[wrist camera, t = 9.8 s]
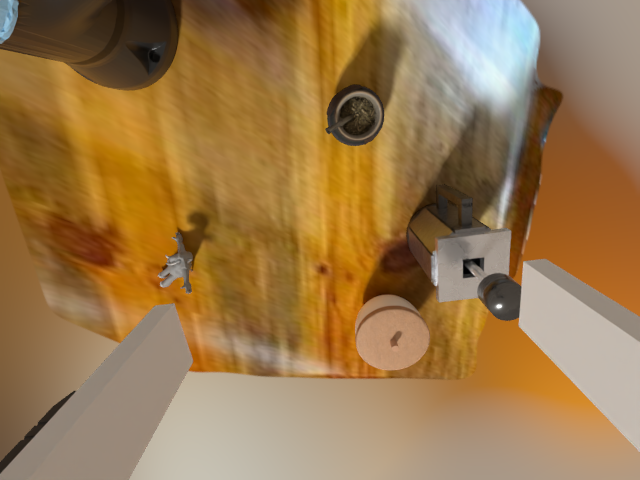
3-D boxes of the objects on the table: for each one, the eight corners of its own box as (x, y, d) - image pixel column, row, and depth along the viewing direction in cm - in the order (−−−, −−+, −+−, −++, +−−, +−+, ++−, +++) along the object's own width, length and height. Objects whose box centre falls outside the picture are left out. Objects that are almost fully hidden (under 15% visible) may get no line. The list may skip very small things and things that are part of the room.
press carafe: (403, 186, 47) (431, 208, 35) (468, 177, 47) (518, 197, 35) (407, 263, 52) (433, 307, 39) (467, 256, 51) (512, 298, 39)
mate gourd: (390, 124, 45) (407, 126, 35) (343, 156, 46) (347, 165, 37) (363, 75, 43) (373, 64, 33) (315, 110, 44) (311, 108, 35)
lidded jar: (357, 343, 57) (363, 384, 48) (346, 289, 53) (351, 322, 44) (418, 333, 56) (436, 373, 47) (412, 278, 52) (430, 309, 44)
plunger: (422, 222, 46) (480, 280, 29) (462, 217, 46) (544, 272, 29) (423, 258, 48) (478, 332, 31) (462, 253, 48) (539, 326, 31)
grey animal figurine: (140, 250, 52) (165, 222, 47) (177, 252, 56) (204, 226, 51) (148, 311, 48) (176, 287, 43) (187, 308, 53) (216, 286, 48)
